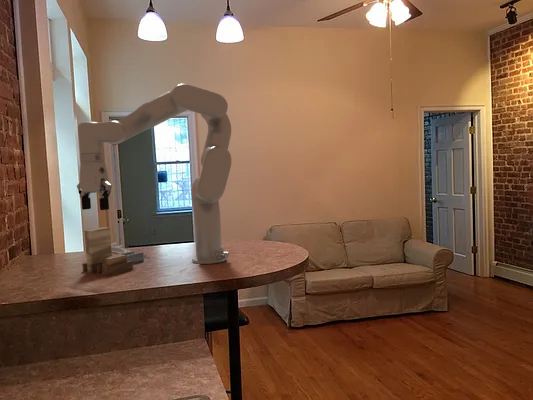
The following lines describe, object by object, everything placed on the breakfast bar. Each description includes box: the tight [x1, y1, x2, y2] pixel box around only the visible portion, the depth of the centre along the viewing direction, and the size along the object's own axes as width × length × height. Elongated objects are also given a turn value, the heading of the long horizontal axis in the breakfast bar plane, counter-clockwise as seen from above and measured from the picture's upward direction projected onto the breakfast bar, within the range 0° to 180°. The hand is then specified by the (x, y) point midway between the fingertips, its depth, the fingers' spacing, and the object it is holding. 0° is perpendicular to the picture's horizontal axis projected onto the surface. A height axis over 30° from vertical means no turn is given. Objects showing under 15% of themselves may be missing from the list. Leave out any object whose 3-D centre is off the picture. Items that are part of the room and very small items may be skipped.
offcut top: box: [102, 254, 127, 267], centre depth 155 cm, size 4×7×2 cm, turn 147°
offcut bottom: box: [102, 266, 107, 274], centre depth 155 cm, size 4×8×2 cm, turn 147°
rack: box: [81, 261, 135, 277], centre depth 157 cm, size 15×11×4 cm
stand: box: [112, 250, 150, 266], centre depth 169 cm, size 9×11×4 cm
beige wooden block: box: [84, 226, 113, 272], centre depth 159 cm, size 3×8×14 cm, turn 147°
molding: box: [111, 242, 151, 260], centre depth 193 cm, size 42×12×3 cm, turn 34°
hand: (95, 209), depth 158 cm, fingers open, 9 cm apart
